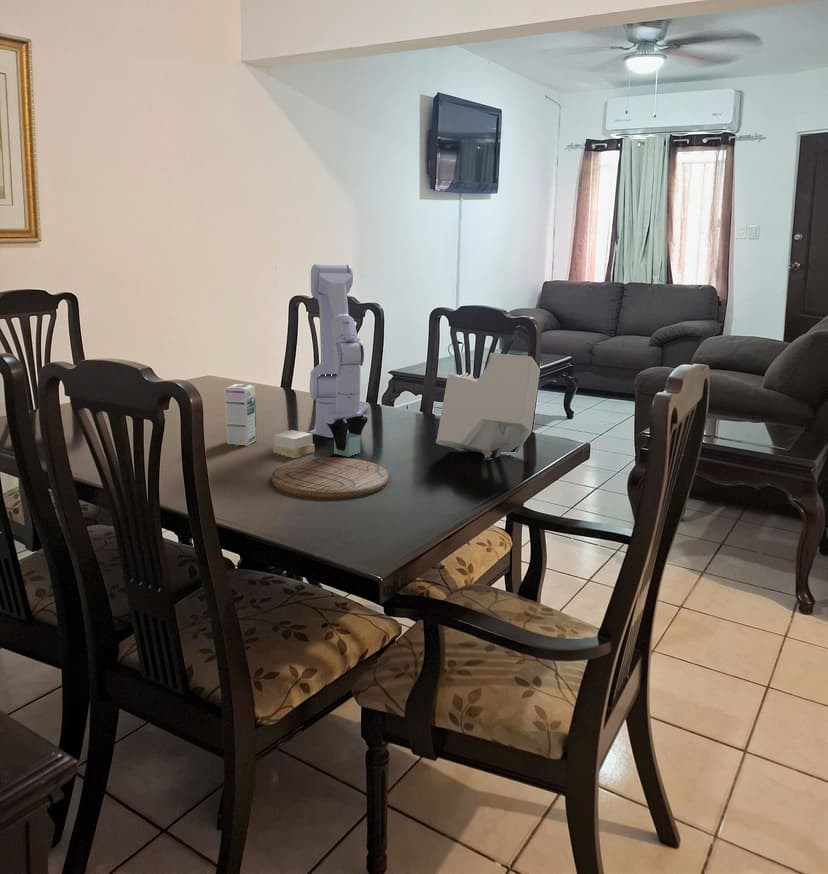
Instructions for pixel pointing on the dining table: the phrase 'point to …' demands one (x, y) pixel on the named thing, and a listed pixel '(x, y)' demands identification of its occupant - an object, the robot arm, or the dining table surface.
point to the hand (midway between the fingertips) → (347, 447)
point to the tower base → (294, 451)
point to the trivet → (329, 478)
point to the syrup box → (240, 414)
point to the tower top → (293, 439)
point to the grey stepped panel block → (490, 406)
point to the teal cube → (350, 445)
